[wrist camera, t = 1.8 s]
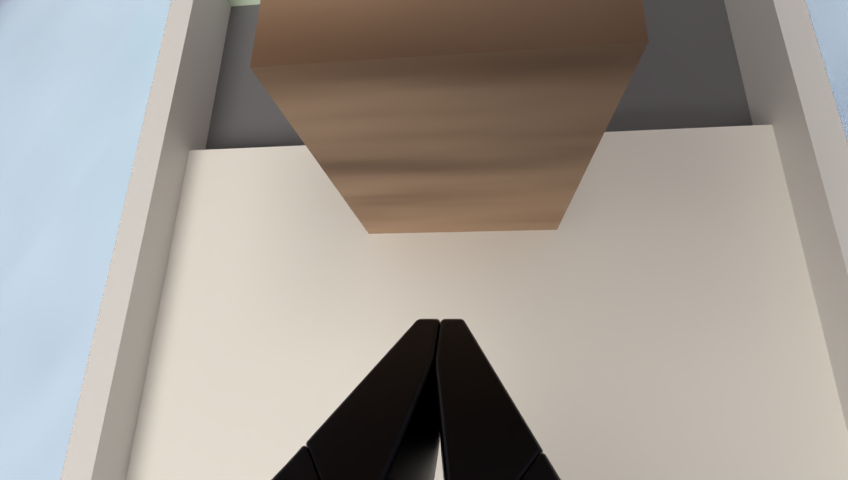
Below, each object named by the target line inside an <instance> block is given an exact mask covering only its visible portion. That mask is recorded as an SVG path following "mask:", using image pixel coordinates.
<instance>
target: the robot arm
mask: <svg viewBox="0 0 848 480" xmlns="http://www.w3.org/2000/svg"><path fill="white" fill-rule="evenodd" d="M439 444H441V457H442V469H443V480H561V479H560V477H559V476H558V474H557V472H556V471H555V469H554V467H553V466H552V464H551V462H550V461H549V459H548V457H547V456H546V455H545V454H544V453H543V450H542V448H541V446H540V445H539V443H538V441H537V440H536V438H535V436H534V435H533V433H532V432H531V430H530V428H529V427H528V425H527V423H526V422H525V420H524V418H523V417H522V415H521V413H520V412H519V410H518V408H517V407H516V405H515V403H514V402H513V400H512V398H511V397H510V395H509V394H508V392H507V390H506V389H505V387H504V385H503V384H502V382H501V380H500V379H499V377H498V375H497V374H496V372H495V370H494V369H493V367H492V365H491V364H490V362H489V360H488V359H487V357H486V355H485V354H484V352H483V351H482V349H481V347H480V346H479V344H478V342H477V341H476V339H475V337H474V336H473V334H472V332H471V331H470V329H469V327H468V326H467V324H466V322H465V321H464V320H463V319H443V320H441V322H440V321H439V320H438V319H418V320H416V321H415V323H414V324H413V325H412V326H411V327H410V328H409V329H408V330H407V331H406V332H405V334H404V335H403V336H402V337H401V338H400V339H399V340H398V341H397V342H396V344H395V345H394V346H393V347H392V348H391V349H390V350H389V351H388V352H387V353H386V355H385V356H384V357H383V358H382V359H381V360H380V361H379V362H378V363H377V365H376V366H375V367H374V368H373V369H372V370H371V371H370V372H369V373H368V374H367V376H366V377H365V378H364V379H363V380H362V381H361V382H360V383H359V384H358V386H357V387H356V388H355V389H354V390H353V391H352V392H351V393H350V394H349V395H348V397H347V398H346V399H345V400H344V401H343V402H342V403H341V404H340V405H339V406H338V408H337V409H336V410H335V411H334V412H333V413H332V414H331V415H330V416H329V418H328V419H327V420H326V421H325V422H324V423H323V424H322V425H321V426H320V427H319V429H318V430H317V431H316V432H315V433H314V434H313V435H312V436H311V437H310V439H309V440H308V441H307V442H306V446H302V447H301V448H300V449H299V450H298V451H297V453H296V454H295V455H294V456H293V457H292V458H291V459H290V460H289V461H288V463H287V464H286V465H285V466H284V467H283V468H282V469H281V470H280V471H279V472H278V473H277V474H276V475H275V476H274V477H273V478H272V479H271V480H434V477H435V471H436V465H437V459H438V452H439Z"/></svg>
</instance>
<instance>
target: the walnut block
mask: <svg viewBox="0 0 848 480" xmlns="http://www.w3.org/2000/svg"><path fill="white" fill-rule="evenodd" d="M648 42H649V39H648V33H647V27H646V21H645V15H644V9H643V2H642V0H260V6H259V13H258V19H257V25H256V32H255V38H254V45H253V51H252V57H251V64H250V68H251V70H252V71H253V73H254V74H255V75H256V77H257V78H258V80H259V81H260V82H261V84H262V85H263V87H264V88H265V89H266V91H267V92H268V93H269V95H270V96H271V98H272V99H273V100H274V102H275V103H276V105H277V106H278V107H279V109H280V110H281V112H282V113H283V114H284V116H285V117H286V119H287V120H288V121H289V123H290V124H291V126H292V127H293V128H294V130H295V131H296V133H297V134H298V135H299V137H300V138H301V140H302V141H303V142H304V144H305V145H306V147H307V148H308V149H309V151H310V152H311V154H312V155H313V156H314V158H315V159H316V161H317V162H318V163H319V165H320V166H321V168H322V169H323V170H324V172H325V173H326V175H327V176H328V177H329V179H330V180H331V182H332V183H333V184H334V186H335V187H336V189H337V190H338V191H339V193H340V194H341V196H342V197H343V198H344V200H345V201H346V203H347V204H348V205H349V207H350V208H351V210H352V211H353V212H354V214H355V215H356V217H357V218H358V219H359V221H360V222H361V224H362V225H363V226H364V228H365V229H366V231H367V232H368V233H369V234H384V233H430V232H476V231H523V230H557V229H558V227H559V225H560V223H561V221H562V218H563V216H564V214H565V212H566V210H567V208H568V206H569V204H570V202H571V200H572V198H573V196H574V194H575V192H576V190H577V188H578V186H579V184H580V182H581V180H582V177H583V175H584V173H585V171H586V169H587V167H588V165H589V163H590V161H591V159H592V157H593V155H594V153H595V151H596V149H597V147H598V145H599V143H600V141H601V138H602V136H603V134H604V132H605V130H606V128H607V126H608V124H609V122H610V120H611V118H612V116H613V114H614V112H615V110H616V108H617V106H618V104H619V102H620V100H621V97H622V95H623V93H624V91H625V89H626V87H627V85H628V83H629V81H630V79H631V77H632V75H633V73H634V71H635V69H636V67H637V65H638V63H639V61H640V59H641V56H642V54H643V52H644V50H645V48H646V46H647V44H648Z"/></svg>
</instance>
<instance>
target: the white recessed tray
mask: <svg viewBox="0 0 848 480" xmlns="http://www.w3.org/2000/svg"><path fill="white" fill-rule="evenodd" d="M642 2H643V9H644V15H645V21H646V27H647V33H648V39H649V42H648V44H647V46H646V48H645V50H644V52H643V54H642V56H641V59H640V61H639V63H638V65H637V67H636V69H635V71H634V73H633V75H632V77H631V79H630V81H629V83H628V85H627V87H626V89H625V91H624V93H623V95H622V97H621V100H620V102H619V104H618V106H617V108H616V110H615V112H614V114H613V116H612V118H611V120H610V122H609V124H608V126H607V128H606V130H605V132H604V134H603V136H602V138H601V141H600V143H599V145H598V147H597V149H596V151H595V153H594V155H593V157H592V159H591V161H590V163H589V165H588V167H587V169H586V171H585V173H584V175H583V177H582V180H581V182H580V184H579V186H578V188H577V190H576V192H575V194H574V196H573V198H572V200H571V202H570V204H569V206H568V208H567V210H566V212H565V214H564V216H563V218H562V221H561V223H560V225H559V227H558V229H557V230H523V231H476V232H430V233H384V234H369V233H368V232H367V231H366V229H365V228H364V226H363V225H362V224H361V222H360V221H359V219H358V218H357V217H356V215H355V214H354V212H353V211H352V210H351V208H350V207H349V205H348V204H347V203H346V201H345V200H344V198H343V197H342V196H341V194H340V193H339V191H338V190H337V189H336V187H335V186H334V184H333V183H332V182H331V180H330V179H329V177H328V176H327V175H326V173H325V172H324V170H323V169H322V168H321V166H320V165H319V163H318V162H317V161H316V159H315V158H314V156H313V155H312V154H311V152H310V151H309V149H308V148H307V147H306V145H305V144H304V142H303V141H302V140H301V138H300V137H299V135H298V134H297V133H296V131H295V130H294V128H293V127H292V126H291V124H290V123H289V121H288V120H287V119H286V117H285V116H284V114H283V113H282V112H281V110H280V109H279V107H278V106H277V105H276V103H275V102H274V100H273V99H272V98H271V96H270V95H269V93H268V92H267V91H266V89H265V88H264V87H263V85H262V84H261V82H260V81H259V80H258V78H257V77H256V75H255V74H254V73H253V71H252V70H251V68H250V64H251V57H252V51H253V45H254V38H255V32H256V25H257V19H258V13H259V6H260V0H171V4H170V9H169V13H168V17H167V21H166V26H165V30H164V34H163V39H162V43H161V47H160V52H159V56H158V60H157V65H156V69H155V73H154V78H153V82H152V86H151V91H150V95H149V99H148V103H147V108H146V112H145V116H144V121H143V125H142V129H141V134H140V138H139V142H138V147H137V151H136V155H135V160H134V164H133V168H132V173H131V177H130V181H129V186H128V190H127V194H126V198H125V203H124V207H123V211H122V216H121V220H120V224H119V229H118V233H117V237H116V242H115V246H114V250H113V255H112V259H111V263H110V268H109V272H108V276H107V280H106V285H105V289H104V293H103V298H102V302H101V306H100V311H99V315H98V319H97V324H96V328H95V332H94V337H93V341H92V345H91V350H90V354H89V358H88V363H87V367H86V371H85V375H84V380H83V384H82V388H81V393H80V397H79V401H78V406H77V410H76V414H75V419H74V423H73V427H72V432H71V436H70V440H69V445H68V449H67V453H66V457H65V462H64V466H63V470H62V475H61V479H60V480H271V479H272V478H273V477H274V476H275V475H276V474H277V473H278V472H279V471H280V470H281V469H282V468H283V467H284V466H285V465H286V464H287V463H288V461H289V460H290V459H291V458H292V457H293V456H294V455H295V454H296V453H297V451H298V450H299V449H300V448H301V447H302V446H306V442H307V441H308V440H309V439H310V437H311V436H312V435H313V434H314V433H315V432H316V431H317V430H318V429H319V427H320V426H321V425H322V424H323V423H324V422H325V421H326V420H327V419H328V418H329V416H330V415H331V414H332V413H333V412H334V411H335V410H336V409H337V408H338V406H339V405H340V404H341V403H342V402H343V401H344V400H345V399H346V398H347V397H348V395H349V394H350V393H351V392H352V391H353V390H354V389H355V388H356V387H357V386H358V384H359V383H360V382H361V381H362V380H363V379H364V378H365V377H366V376H367V374H368V373H369V372H370V371H371V370H372V369H373V368H374V367H375V366H376V365H377V363H378V362H379V361H380V360H381V359H382V358H383V357H384V356H385V355H386V353H387V352H388V351H389V350H390V349H391V348H392V347H393V346H394V345H395V344H396V342H397V341H398V340H399V339H400V338H401V337H402V336H403V335H404V334H405V332H406V331H407V330H408V329H409V328H410V327H411V326H412V325H413V324H414V323H415V321H416V320H418V319H438V320H439V321H440V322H441V320H443V319H463V320H464V321H465V322H466V324H467V326H468V327H469V329H470V331H471V332H472V334H473V336H474V337H475V339H476V341H477V342H478V344H479V346H480V347H481V349H482V351H483V352H484V354H485V355H486V357H487V359H488V360H489V362H490V364H491V365H492V367H493V369H494V370H495V372H496V374H497V375H498V377H499V379H500V380H501V382H502V384H503V385H504V387H505V389H506V390H507V392H508V394H509V395H510V397H511V398H512V400H513V402H514V403H515V405H516V407H517V408H518V410H519V412H520V413H521V415H522V417H523V418H524V420H525V422H526V423H527V425H528V427H529V428H530V430H531V432H532V433H533V435H534V436H535V438H536V440H537V441H538V443H539V445H540V446H541V448H542V450H543V453H544V454H545V455H546V456H547V457H548V459H549V461H550V462H551V464H552V466H553V467H554V469H555V471H556V472H557V474H558V476H559V477H560V479H561V480H848V143H847V139H846V136H845V133H844V129H843V126H842V122H841V119H840V116H839V112H838V109H837V106H836V102H835V99H834V96H833V92H832V89H831V86H830V82H829V79H828V76H827V72H826V69H825V66H824V62H823V59H822V55H821V52H820V49H819V45H818V42H817V39H816V35H815V32H814V29H813V25H812V22H811V19H810V15H809V12H808V9H807V5H806V2H805V0H642ZM434 480H443V469H442V457H441V444H439V452H438V459H437V465H436V471H435V477H434Z"/></svg>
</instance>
